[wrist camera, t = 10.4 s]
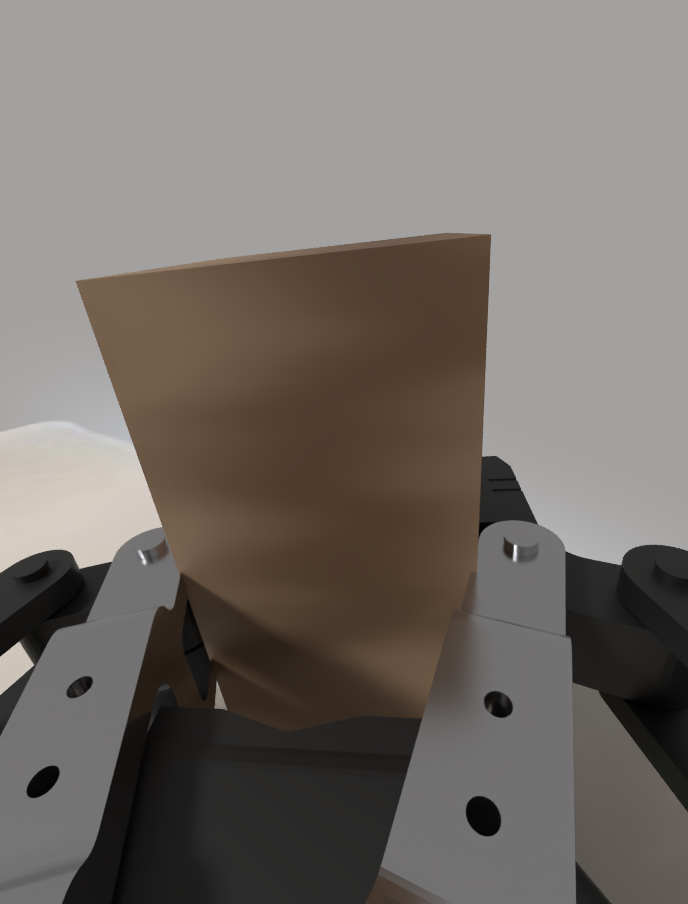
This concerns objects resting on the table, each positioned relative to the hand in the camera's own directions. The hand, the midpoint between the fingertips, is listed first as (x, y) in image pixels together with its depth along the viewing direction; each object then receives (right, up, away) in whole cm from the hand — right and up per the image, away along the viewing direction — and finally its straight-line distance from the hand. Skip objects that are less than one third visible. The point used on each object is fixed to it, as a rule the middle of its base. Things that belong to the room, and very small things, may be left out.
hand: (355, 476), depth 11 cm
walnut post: (0, -7, +1) cm, 7 cm away
